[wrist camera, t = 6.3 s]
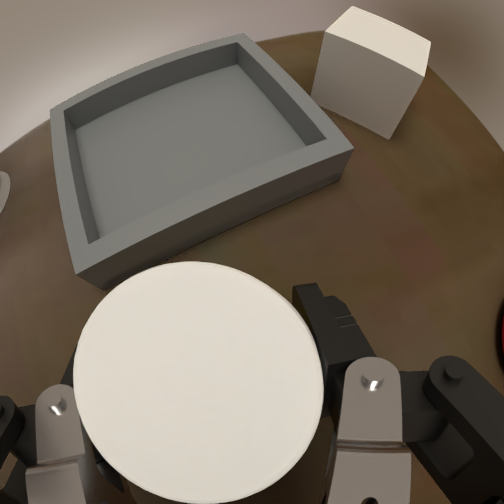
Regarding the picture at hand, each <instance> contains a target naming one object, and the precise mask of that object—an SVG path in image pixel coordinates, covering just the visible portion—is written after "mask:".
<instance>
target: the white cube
mask: <svg viewBox="0 0 504 504" xmlns="http://www.w3.org/2000/svg"><path fill="white" fill-rule="evenodd" d="M430 44H431V42H430V41H428V40H426V39H425V38H423V37H420V36H419V35H417V34H415V33H413V32H411V31H409V30H407V29H405V28H403V27H401V26H399V25H397V24H395V23H392V22H390V21H388V20H386V19H384V18H381V17H379V16H377V15H374V14H372V13H369V12H366V11H364V10H362V9H359V8H356V7H354V6H352V7H351V8H349V9H348V10H347V11H346V12H345V13H344V14H343V15H342V16H341V17H340V18H339V19H337V21H335V22H334V23H333V24H332V25H331V26H330V27H329V28H328V29H327V30H326V31H325V33H324V38H323V43H322V47H321V52H320V56H319V61H318V65H317V70H316V74H315V79H314V83H313V87H312V92H311V96H310V97H311V98H312V99H313V101H314V102H315V103H316V104H317V105H319V106H321V107H324V108H326V109H328V110H330V111H333V112H335V113H337V114H339V115H341V116H343V117H345V118H347V119H349V120H351V121H353V122H355V123H357V124H359V125H361V126H363V127H365V128H367V129H369V130H371V131H373V132H375V133H377V134H379V135H381V136H382V137H384V138H386V139H388V140H389V139H390V138H391V136H392V134H393V132H394V131H395V129H396V127H397V125H398V124H399V122H400V120H401V118H402V117H403V115H404V113H405V111H406V110H407V108H408V106H409V104H410V102H411V101H412V99H413V97H414V95H415V93H416V92H417V90H418V88H419V86H420V84H421V82H422V80H423V79H424V76H425V71H426V66H427V61H428V56H429V50H430Z"/></svg>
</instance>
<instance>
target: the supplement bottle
mask: <svg viewBox="0 0 504 504" xmlns="http://www.w3.org/2000/svg"><path fill="white" fill-rule="evenodd" d="M73 384H74V394H75V400H76V404H77V409H78V411H79V414H80V417H81V420H82V423H83V425H84V427H85V429H86V431H87V433H88V435H89V437H90V439H91V441H92V442H93V444H94V445H95V447H96V448H97V450H98V451H99V452H100V454H101V455H102V456H103V457H104V459H105V460H106V461H107V462H108V463H109V464H110V465H111V466H112V467H113V468H114V469H115V470H117V471H118V472H119V473H120V474H122V475H123V476H124V477H125V478H127V479H128V480H129V481H131V482H132V483H134V484H136V485H137V486H139V487H141V488H143V489H144V490H147V491H149V492H151V493H153V494H156V495H158V496H161V497H164V498H166V499H170V500H174V501H178V502H184V503H191V504H216V503H225V502H231V501H235V500H239V499H242V498H245V497H248V496H250V495H253V494H255V493H257V492H259V491H262V490H264V489H265V488H267V487H269V486H270V485H272V484H273V483H275V482H276V481H278V480H279V479H280V478H281V477H283V476H284V475H285V474H286V473H287V472H288V471H289V470H290V469H291V468H293V466H294V465H295V464H296V463H297V462H298V460H299V459H300V458H301V457H302V455H303V454H304V453H305V451H306V450H307V448H308V446H309V444H310V442H311V440H312V439H313V437H314V434H315V432H316V429H317V426H318V423H319V420H320V416H321V411H322V405H323V394H324V385H323V375H322V368H321V362H320V359H319V355H318V350H317V347H316V344H315V341H314V339H313V336H312V334H311V332H310V330H309V328H308V326H307V325H306V323H305V322H304V320H303V319H302V317H301V316H300V314H299V313H298V312H297V310H296V309H295V308H294V307H293V306H292V305H291V304H290V303H289V302H288V301H287V300H286V299H285V298H284V297H283V296H281V295H280V294H279V293H277V292H276V291H275V290H273V289H272V288H270V287H269V286H268V285H266V284H265V283H263V282H261V281H259V280H258V279H256V278H254V277H253V276H251V275H249V274H246V273H244V272H242V271H239V270H237V269H234V268H230V267H227V266H223V265H219V264H214V263H206V262H178V263H170V264H164V265H160V266H157V267H153V268H150V269H148V270H145V271H143V272H141V273H138V274H136V275H134V276H132V277H131V278H129V279H127V280H125V281H124V282H123V283H121V284H120V285H118V286H117V287H116V288H114V289H113V290H112V291H111V292H110V293H109V294H108V295H107V296H106V297H105V298H104V299H103V300H102V301H101V302H100V303H99V305H98V306H97V307H96V309H95V310H94V312H93V313H92V315H91V316H90V318H89V320H88V321H87V323H86V325H85V327H84V328H83V331H82V333H81V336H80V339H79V342H78V345H77V349H76V354H75V358H74V367H73Z"/></svg>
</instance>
